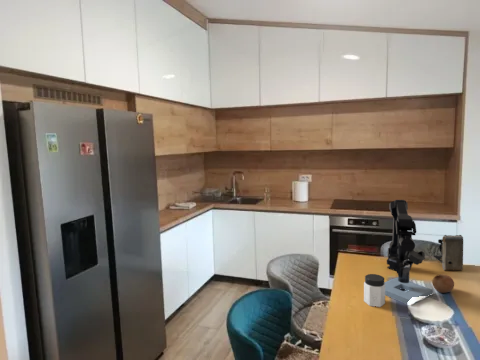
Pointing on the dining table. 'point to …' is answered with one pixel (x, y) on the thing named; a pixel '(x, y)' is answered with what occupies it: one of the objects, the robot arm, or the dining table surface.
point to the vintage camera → (451, 252)
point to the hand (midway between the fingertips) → (403, 276)
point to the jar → (374, 290)
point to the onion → (443, 283)
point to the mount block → (414, 289)
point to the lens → (405, 273)
